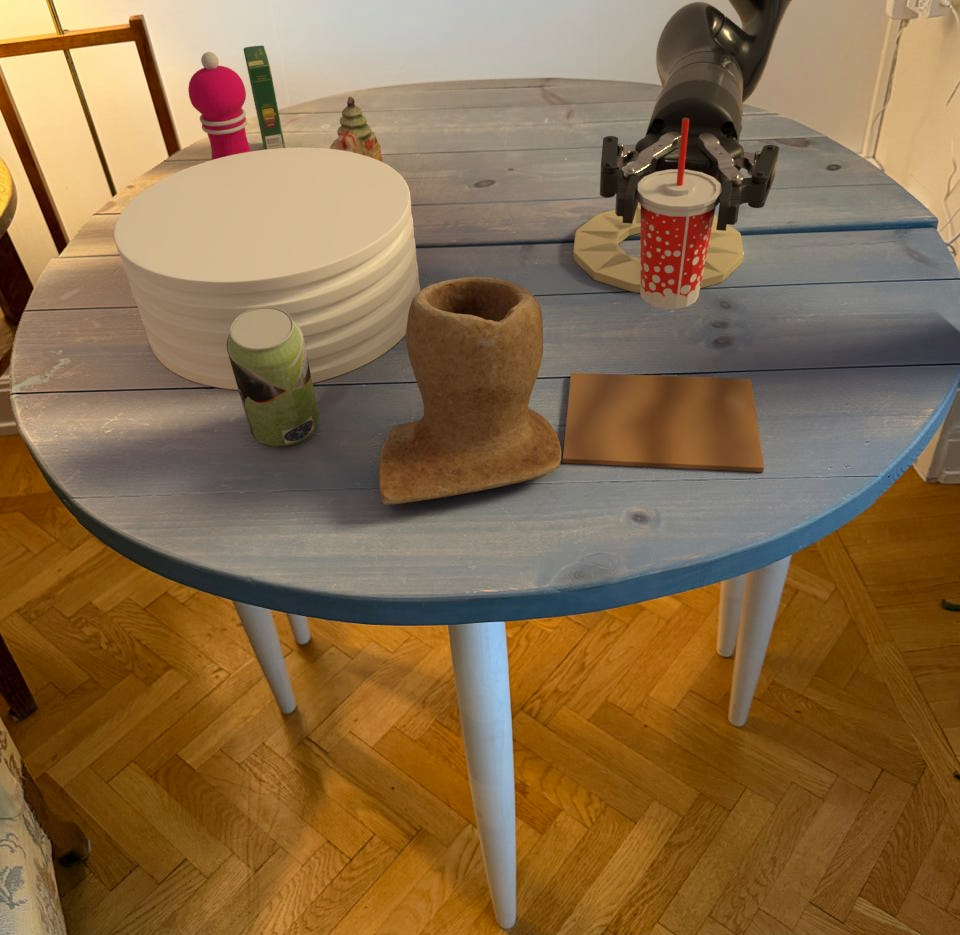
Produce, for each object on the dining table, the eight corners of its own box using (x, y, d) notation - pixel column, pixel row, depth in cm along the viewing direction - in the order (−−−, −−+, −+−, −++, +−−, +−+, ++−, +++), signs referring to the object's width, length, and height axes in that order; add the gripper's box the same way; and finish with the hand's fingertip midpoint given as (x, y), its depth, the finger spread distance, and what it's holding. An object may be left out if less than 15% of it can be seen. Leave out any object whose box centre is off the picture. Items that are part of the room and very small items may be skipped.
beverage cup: (698, 270, 76) (718, 99, 67) (717, 311, 72) (741, 133, 62) (624, 276, 76) (633, 105, 67) (638, 317, 72) (650, 140, 62)
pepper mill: (207, 227, 111) (160, 54, 98) (258, 207, 115) (220, 37, 102) (237, 247, 107) (193, 69, 94) (290, 226, 111) (255, 50, 97)
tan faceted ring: (735, 213, 107) (736, 205, 107) (748, 295, 94) (749, 286, 93) (578, 211, 110) (578, 203, 109) (569, 291, 96) (569, 282, 96)
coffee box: (289, 164, 124) (270, 62, 116) (268, 167, 124) (246, 66, 115) (283, 142, 130) (264, 43, 121) (263, 145, 130) (242, 46, 121)
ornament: (371, 191, 117) (360, 111, 110) (324, 190, 118) (311, 110, 111) (387, 164, 122) (378, 87, 116) (342, 163, 123) (331, 87, 117)
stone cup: (537, 401, 83) (534, 249, 73) (574, 489, 74) (577, 329, 64) (367, 429, 81) (342, 277, 71) (385, 523, 72) (358, 364, 62)
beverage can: (307, 401, 84) (281, 285, 76) (336, 445, 79) (313, 326, 71) (240, 424, 82) (207, 307, 74) (266, 471, 77) (234, 352, 69)
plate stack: (98, 380, 88) (56, 273, 81) (212, 239, 109) (187, 144, 101) (382, 400, 84) (365, 289, 76) (445, 249, 104) (437, 150, 97)
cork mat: (750, 383, 83) (751, 378, 83) (763, 472, 74) (764, 467, 74) (570, 376, 85) (571, 372, 85) (562, 463, 76) (562, 458, 76)
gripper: (613, 74, 78) (577, 159, 66) (791, 81, 75) (787, 172, 63) (609, 160, 83) (575, 253, 71) (776, 170, 80) (770, 270, 68)
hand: (675, 215), depth 67 cm, fingers closed on beverage cup, 6 cm apart
